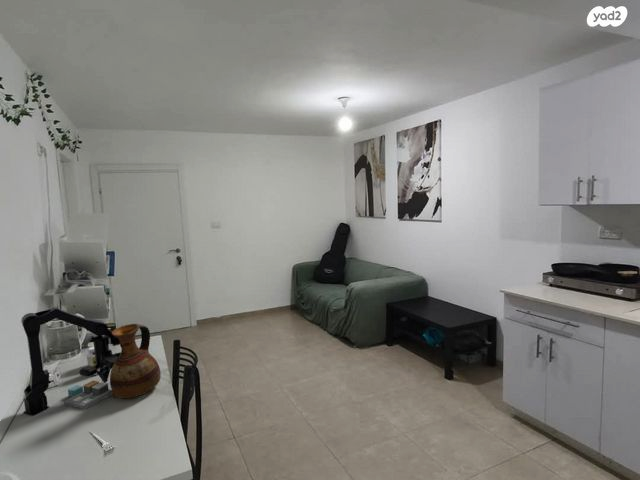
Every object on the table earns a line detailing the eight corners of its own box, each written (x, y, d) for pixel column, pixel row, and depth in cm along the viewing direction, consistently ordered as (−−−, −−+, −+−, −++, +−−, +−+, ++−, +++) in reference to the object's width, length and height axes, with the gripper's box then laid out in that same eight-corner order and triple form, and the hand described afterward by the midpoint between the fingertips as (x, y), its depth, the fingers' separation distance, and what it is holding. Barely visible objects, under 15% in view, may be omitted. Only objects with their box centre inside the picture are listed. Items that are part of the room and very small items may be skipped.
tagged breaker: (90, 394, 164) (89, 386, 163) (84, 392, 165) (83, 385, 165) (100, 388, 168) (99, 381, 168) (93, 387, 169) (92, 380, 169)
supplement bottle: (107, 369, 192) (104, 345, 191) (98, 375, 186) (95, 350, 184) (95, 369, 193) (92, 345, 192) (85, 375, 186) (82, 350, 185)
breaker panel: (84, 409, 155) (84, 404, 155) (64, 404, 160) (64, 399, 159) (112, 393, 167) (112, 388, 167) (93, 389, 172) (93, 385, 171)
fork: (94, 430, 141) (93, 426, 141) (118, 450, 128) (117, 444, 128) (84, 435, 138) (84, 430, 138) (108, 455, 126) (107, 449, 125)
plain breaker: (99, 395, 162) (98, 388, 161) (92, 394, 163) (91, 386, 163) (108, 390, 166) (107, 383, 166) (102, 389, 167) (101, 381, 167)
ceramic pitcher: (100, 399, 162) (92, 331, 159) (136, 377, 181) (129, 316, 178) (138, 404, 156) (130, 334, 153) (171, 381, 175) (164, 318, 172)
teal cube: (74, 398, 165) (73, 390, 164) (68, 397, 166) (67, 389, 166) (83, 393, 168) (82, 386, 168) (77, 392, 170) (76, 385, 169)
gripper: (95, 359, 159) (99, 395, 161) (132, 343, 177) (135, 375, 178) (76, 356, 164) (80, 391, 165) (114, 340, 181) (118, 372, 182)
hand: (105, 382), depth 173 cm, fingers closed
